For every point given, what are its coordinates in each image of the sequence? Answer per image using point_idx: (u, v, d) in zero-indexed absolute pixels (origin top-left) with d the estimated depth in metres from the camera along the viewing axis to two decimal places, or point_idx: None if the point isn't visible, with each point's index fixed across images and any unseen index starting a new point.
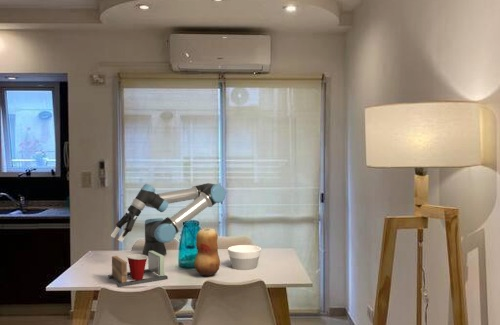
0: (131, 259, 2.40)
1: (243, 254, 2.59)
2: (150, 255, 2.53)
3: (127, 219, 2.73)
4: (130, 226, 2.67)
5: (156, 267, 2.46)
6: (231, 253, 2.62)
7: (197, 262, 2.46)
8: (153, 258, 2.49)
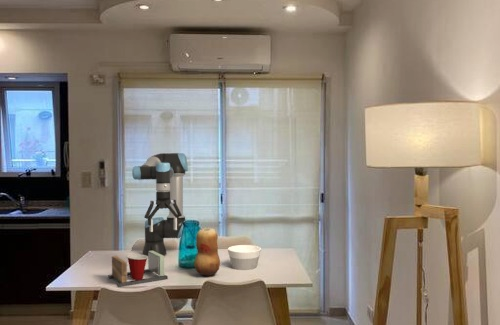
0: (131, 259, 2.40)
1: (243, 254, 2.59)
2: (150, 255, 2.53)
3: (169, 207, 2.54)
4: None
5: (156, 267, 2.46)
6: (231, 253, 2.62)
7: (197, 262, 2.46)
8: (153, 258, 2.49)
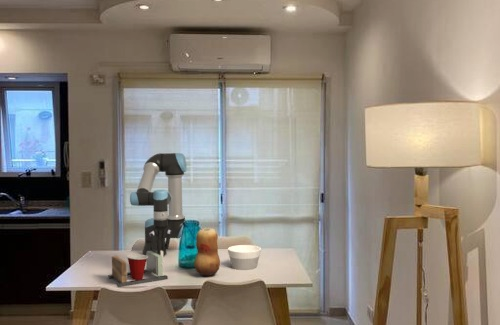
0: (131, 259, 2.40)
1: (243, 254, 2.59)
2: (148, 255, 2.52)
3: (164, 236, 2.51)
4: None
5: (154, 267, 2.45)
6: (231, 253, 2.62)
7: (197, 262, 2.46)
8: (151, 258, 2.48)
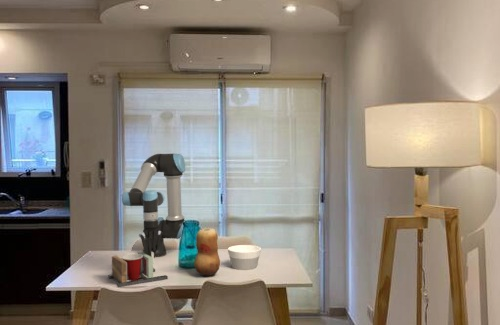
0: (126, 260, 2.39)
1: (243, 254, 2.59)
2: None
3: (154, 237, 2.48)
4: None
5: (145, 269, 2.42)
6: (231, 253, 2.62)
7: (197, 262, 2.46)
8: (142, 260, 2.46)
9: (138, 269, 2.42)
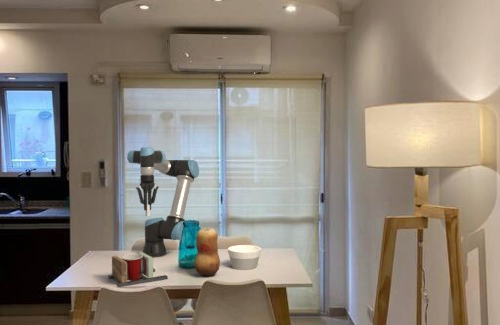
0: (126, 260, 2.39)
1: (243, 254, 2.59)
2: None
3: (150, 190, 2.66)
4: None
5: (145, 269, 2.42)
6: (231, 253, 2.62)
7: (197, 262, 2.46)
8: (142, 260, 2.46)
9: (138, 269, 2.42)
